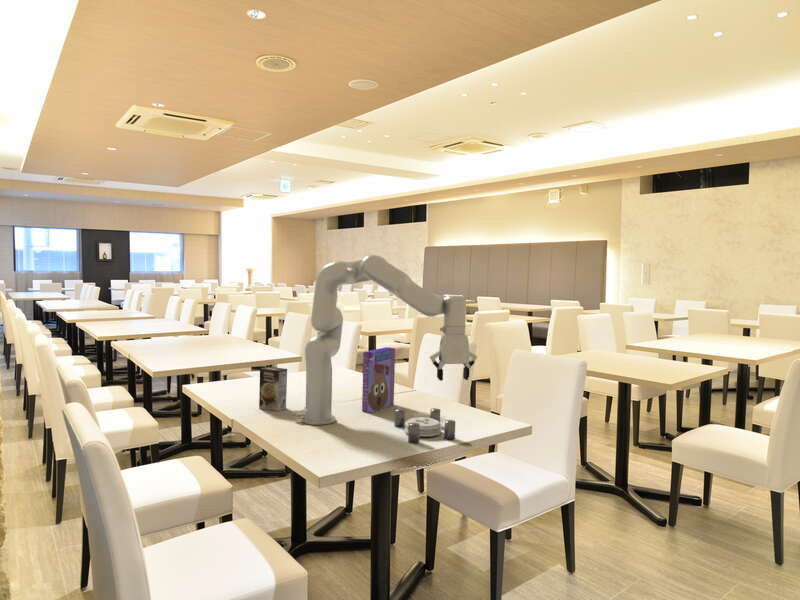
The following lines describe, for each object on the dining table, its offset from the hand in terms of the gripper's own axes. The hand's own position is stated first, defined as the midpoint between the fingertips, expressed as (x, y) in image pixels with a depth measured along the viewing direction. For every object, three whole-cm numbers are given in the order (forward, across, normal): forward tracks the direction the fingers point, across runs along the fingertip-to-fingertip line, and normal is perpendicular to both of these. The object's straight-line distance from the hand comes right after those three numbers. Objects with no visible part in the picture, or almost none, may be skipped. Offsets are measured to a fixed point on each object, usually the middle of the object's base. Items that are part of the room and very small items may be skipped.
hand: (453, 379), depth 194 cm
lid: (+19, -11, 0) cm, 22 cm away
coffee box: (+18, -60, +42) cm, 76 cm away
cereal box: (+19, -18, +37) cm, 45 cm away
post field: (+18, -10, 0) cm, 21 cm away
